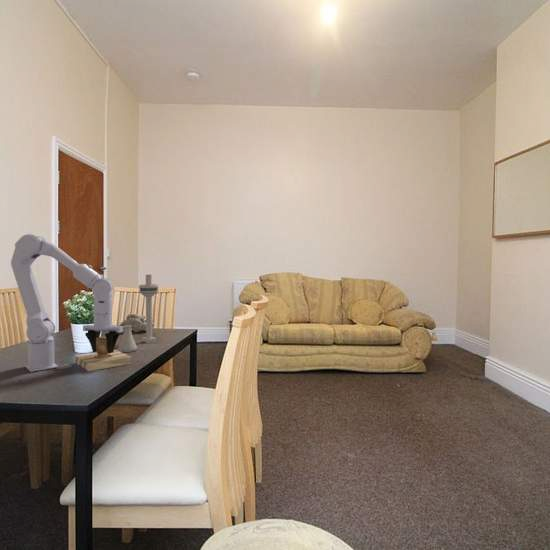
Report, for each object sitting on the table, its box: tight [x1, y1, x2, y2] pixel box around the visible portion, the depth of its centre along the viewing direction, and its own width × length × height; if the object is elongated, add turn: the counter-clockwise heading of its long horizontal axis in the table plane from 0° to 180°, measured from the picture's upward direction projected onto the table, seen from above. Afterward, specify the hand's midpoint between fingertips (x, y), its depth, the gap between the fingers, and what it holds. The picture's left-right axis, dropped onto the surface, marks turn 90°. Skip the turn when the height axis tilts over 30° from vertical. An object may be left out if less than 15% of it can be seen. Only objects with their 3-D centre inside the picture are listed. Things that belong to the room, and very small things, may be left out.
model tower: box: [138, 274, 160, 344], centre depth 169 cm, size 8×8×30 cm
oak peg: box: [95, 336, 108, 359], centre depth 131 cm, size 4×4×9 cm
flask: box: [117, 325, 138, 353], centre depth 151 cm, size 7×7×10 cm
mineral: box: [118, 313, 155, 333], centre depth 194 cm, size 12×17×10 cm
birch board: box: [75, 349, 132, 372], centre depth 132 cm, size 14×14×2 cm
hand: (103, 352), depth 132 cm, fingers open, 5 cm apart
